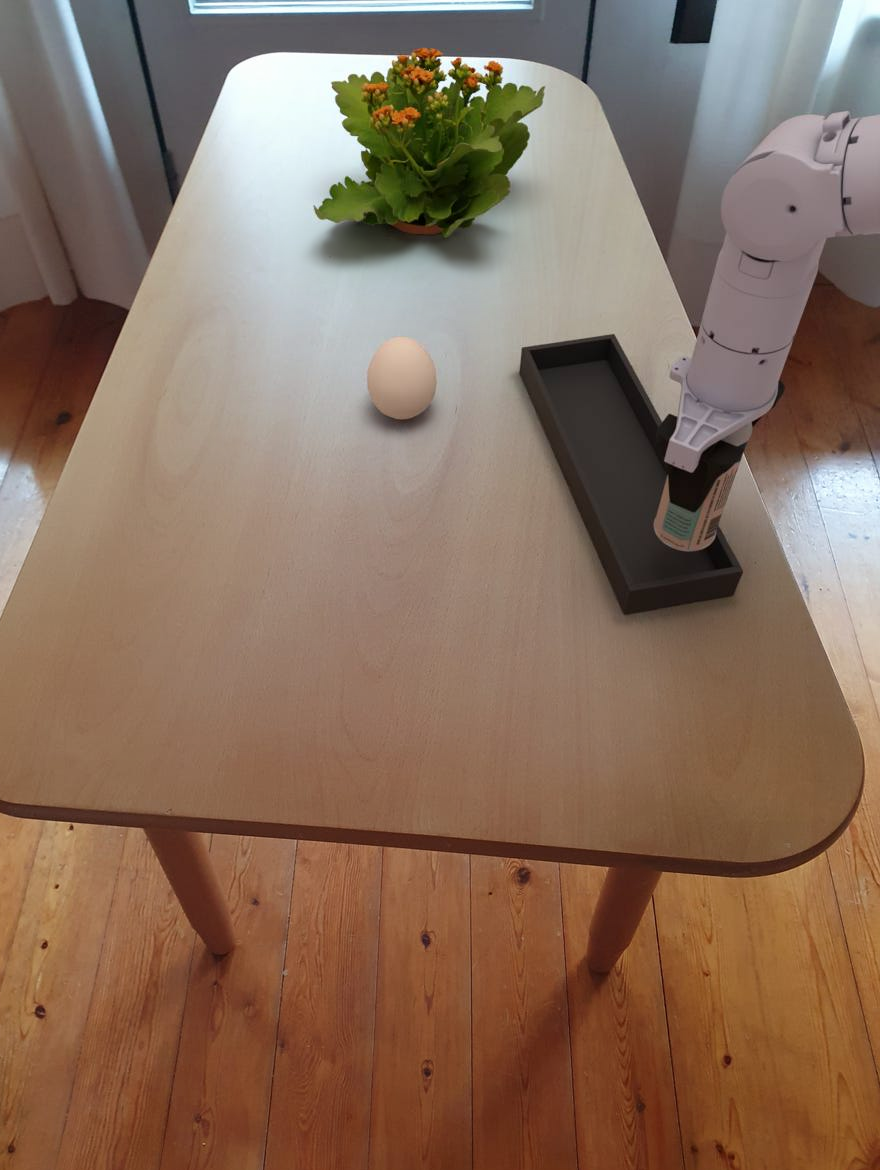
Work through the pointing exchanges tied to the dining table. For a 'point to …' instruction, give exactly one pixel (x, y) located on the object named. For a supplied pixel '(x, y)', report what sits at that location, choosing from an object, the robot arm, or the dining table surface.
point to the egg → (401, 378)
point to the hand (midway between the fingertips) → (699, 483)
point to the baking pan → (619, 473)
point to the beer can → (701, 525)
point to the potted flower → (429, 144)
